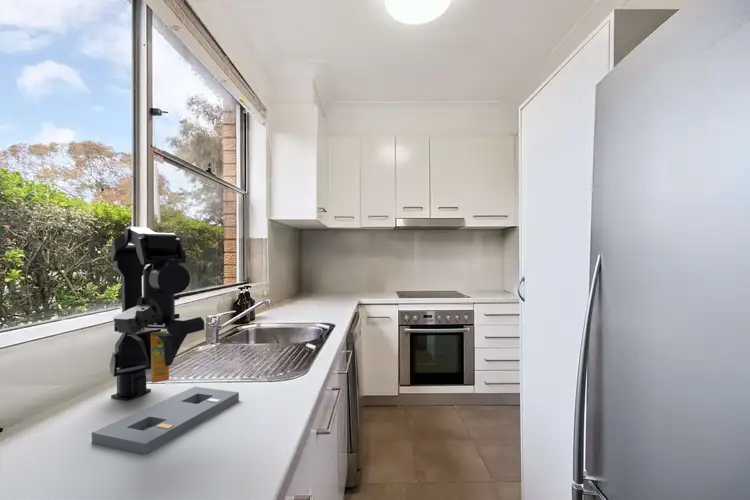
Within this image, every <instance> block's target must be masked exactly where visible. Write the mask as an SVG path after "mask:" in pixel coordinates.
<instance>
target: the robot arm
mask: <svg viewBox="0 0 750 500" xmlns="http://www.w3.org/2000/svg"><path fill="white" fill-rule="evenodd" d="M186 258H187V254H186V251H185V249H184V246H183V243H182V241H181V240H180V238H179V237H178V236H177V234H176V233H173V232H156V231H153V230H151V228H149V227H147V226H128V227H125V228H124V232H123V233H122V234H121V235H118V237H116V238H115V239H114V240H112V245H111V249H110V260H111V262H113V269H114V270H115V271H116V273H117V274H118V275H119V276H120V277H121V309H122V310H121V313H119V314H117V315H115V316H114V317H113V323H114V332H118V333H119V334H121V335H120V336H119V338H118V340H117V341H116V342H115V344H114V351H113V352H112V354H111V359H110V363H109V373H110V374H111V375H112V377H113V378H116V393H114V394H112V395H110V398H112V399H117V400H125V401H130V400H132V399H135V398H138V397H140V396H143V395H146V394H147V393H149V392H152V388H147V374H146V373H147V372H146V370H151V335H150V334H151V333H152V332H161V331H162V329H163V330H165V331H166V334H163V335H159V336H158V337H159V338H160V339H161V340H162V341H163V343H164V357H165V364H166V366H169V367H170V366H171V365H172V364H173V363H174V360H175V358H176V356H177V354H178V353H179V350H180V347H181V346H182V344H183V342H184V341H185V340H186V338H187V336H188V335H189V334H193V333H196V332H200V331H205V320H204V319H203V318H202V317H201V316H183V317H180V313H176V311H175V310H176V308H175V307H176V305H175V304H176V303H175V301H177V300H180V293H182V292H184V291H185V290H187V288H188V287H189V285H190V283H191V276H190V274H189V271H188V270H187V269H186V268H185V267H184V266H182V265H180V264H186V262H187V260H186Z"/></svg>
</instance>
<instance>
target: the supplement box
mask: <svg viewBox="0 0 750 500" xmlns="http://www.w3.org/2000/svg"><path fill="white" fill-rule="evenodd" d="M166 331H167V330H163V331H162V330H161V332H152V333H151V334H150V335H151V369H150V373H151V374H150V376H151V379H150V380H151V383H153V384H154V383H159V382H165V381H169V379H170V366H166V364H165V357H164V343H163V341H162V340H161V339H160V338H159V337H158V336H159V335H163V334H166Z"/></svg>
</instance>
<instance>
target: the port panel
mask: <svg viewBox="0 0 750 500" xmlns="http://www.w3.org/2000/svg"><path fill="white" fill-rule="evenodd" d="M239 393H240V392H239V391H231V390H223V389H216V388H209V387H201V386H193V387H191V388H188V389H186V390H183V391H182V392H180V393H177V394H175V395H173V396H170V397H168V398H166V399H164V400H161V401H159V402H157V403H155V404H152V405H150V406H148V407H146V408H144V409H141V410H139V411H137V412H135V413H133V414H130V415H128V416H126V417H124V418H121V419H119V420H117V421H115V422H112V423H110V424H107V425H106V426H104V427H101V428H99V429H97V430H95V431H92V432H91V444H95V445H99V446H104V447H109V448H111V449H112V448H113V449H117V450H122V451H127V452H131V453H136V454H140V455H148V454H149V453H151V452H152V451H154V450H157V449H158V448H159V447H161V446H163V445H165V444H167V443H168V442H170V441H171V440H173V439H175V438H176V437H178V436H180V435H182V434H184V433H185V432H187V431H189V430H191V429H192V428H194V427H195V426H197V425H199V424H201V423H202V422H204V421H206V420H208V419H210V418H211V417H213V416H215V415H216V414H217V413H219V412H221V411H223V410H225V409H227V408H228V407H230V406H232V405H233V404H235V403H236V402H238V401H239V400H240V394H239ZM197 402H198V403H197ZM148 427H150V428H148ZM146 428H148V429H146ZM144 429H146V430H144Z"/></svg>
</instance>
